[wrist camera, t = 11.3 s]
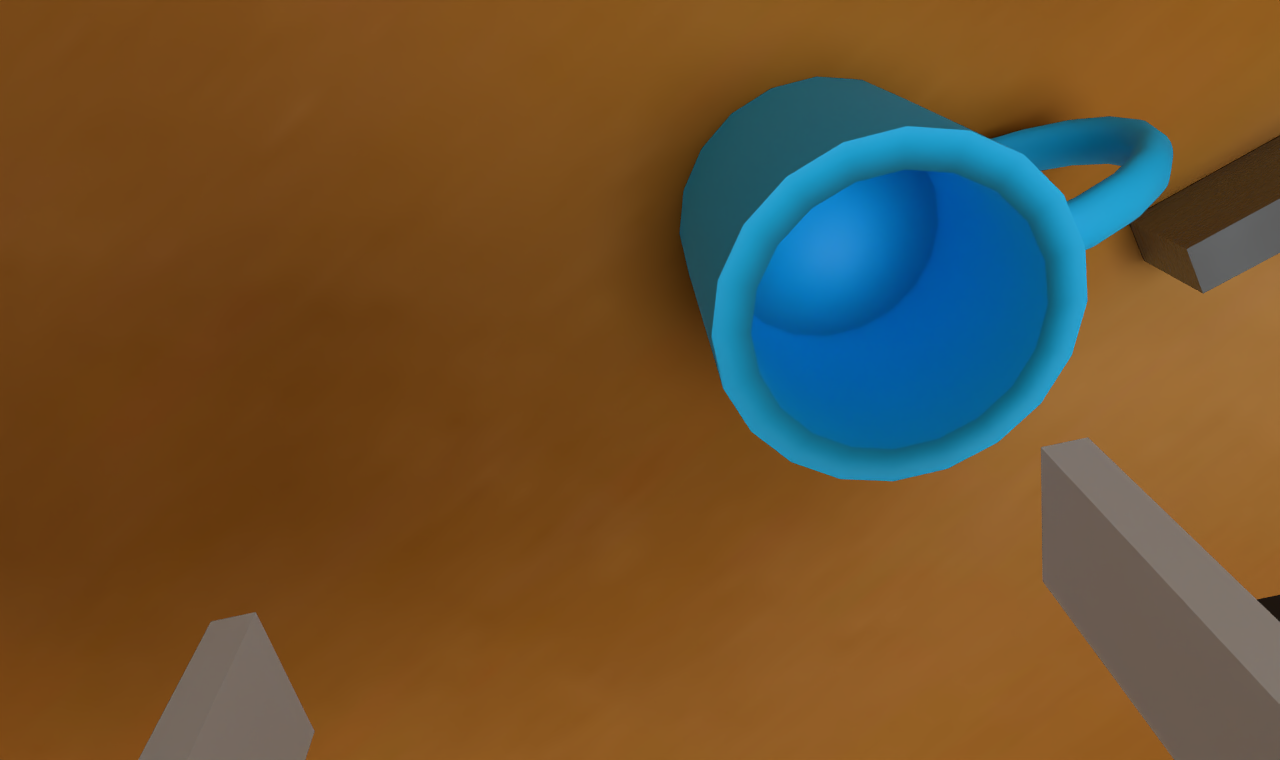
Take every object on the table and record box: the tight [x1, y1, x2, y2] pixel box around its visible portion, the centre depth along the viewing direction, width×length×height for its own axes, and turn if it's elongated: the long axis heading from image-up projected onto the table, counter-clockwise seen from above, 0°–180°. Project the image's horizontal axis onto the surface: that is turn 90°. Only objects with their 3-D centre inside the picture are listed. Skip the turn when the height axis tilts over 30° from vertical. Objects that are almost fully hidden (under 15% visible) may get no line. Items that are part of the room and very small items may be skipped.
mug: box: [680, 77, 1173, 481], centre depth 23 cm, size 12×8×8 cm
